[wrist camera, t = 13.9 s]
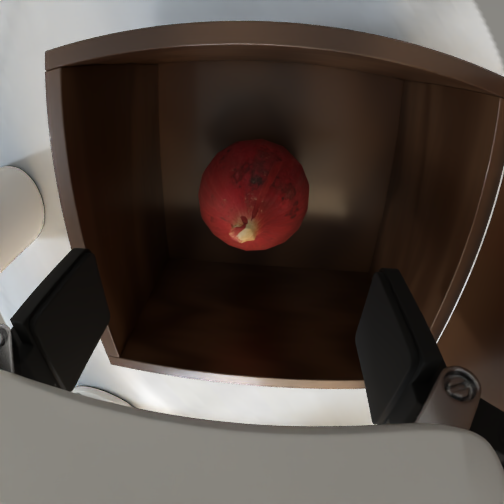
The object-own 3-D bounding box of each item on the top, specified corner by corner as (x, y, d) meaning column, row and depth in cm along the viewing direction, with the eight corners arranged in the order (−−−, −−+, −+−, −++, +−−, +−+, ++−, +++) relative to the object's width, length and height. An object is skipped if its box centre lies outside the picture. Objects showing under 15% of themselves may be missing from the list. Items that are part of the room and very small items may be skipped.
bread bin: (164, 260, 25) (110, 364, 16) (151, 53, 17) (44, 51, 8) (373, 274, 24) (410, 386, 15) (411, 71, 16) (517, 83, 7)
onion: (227, 117, 18) (195, 145, 11) (317, 146, 19) (339, 192, 12) (204, 200, 21) (168, 267, 14) (285, 226, 22) (287, 303, 15)
